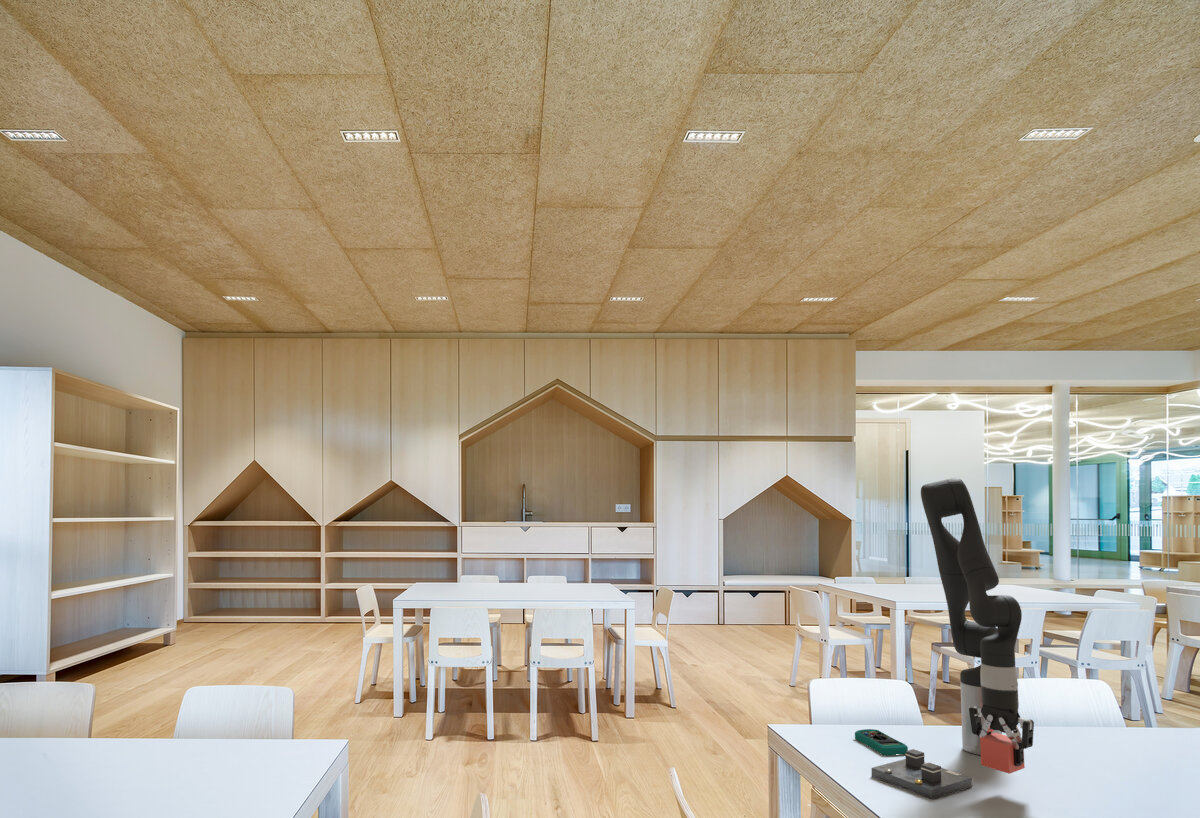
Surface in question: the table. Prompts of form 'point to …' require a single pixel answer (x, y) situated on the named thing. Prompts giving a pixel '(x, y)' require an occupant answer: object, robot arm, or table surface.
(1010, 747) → the red cube
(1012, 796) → the table surface
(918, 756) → the breaker
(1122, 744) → the table surface
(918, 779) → the breaker panel
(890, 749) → the digital multimeter
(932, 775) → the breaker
